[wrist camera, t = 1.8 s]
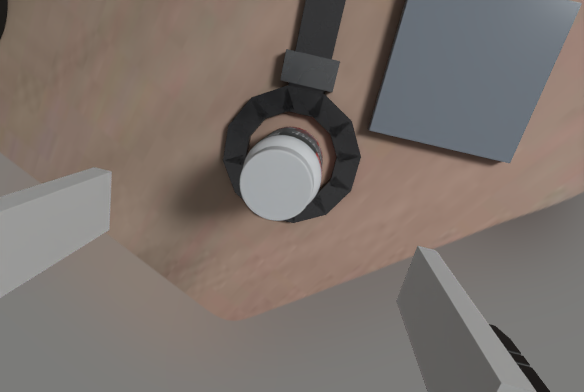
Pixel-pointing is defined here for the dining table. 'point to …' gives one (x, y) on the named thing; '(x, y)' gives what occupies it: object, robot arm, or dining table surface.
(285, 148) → the pill bottle
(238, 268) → the dining table surface
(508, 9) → the slate trivet
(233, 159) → the iron eye
